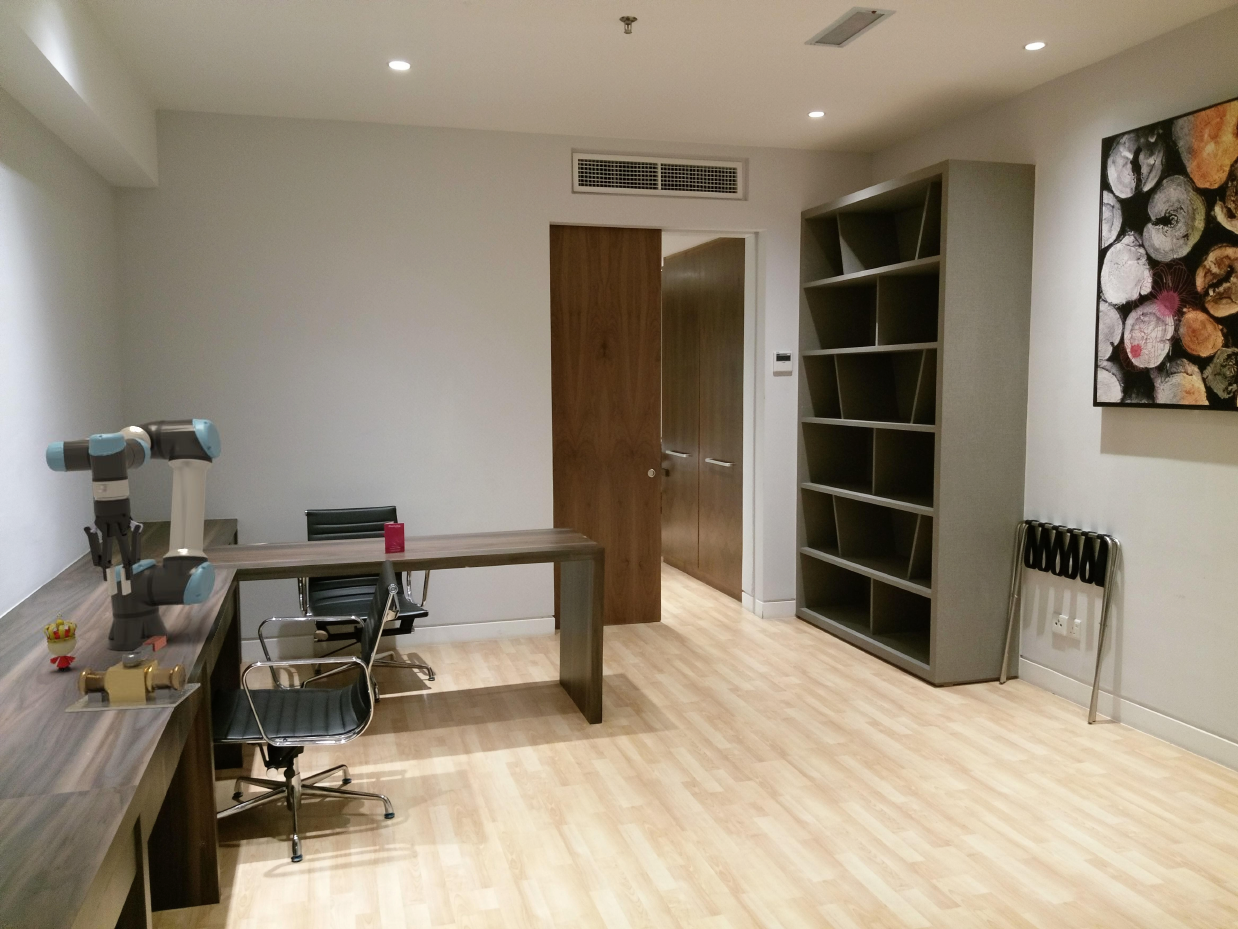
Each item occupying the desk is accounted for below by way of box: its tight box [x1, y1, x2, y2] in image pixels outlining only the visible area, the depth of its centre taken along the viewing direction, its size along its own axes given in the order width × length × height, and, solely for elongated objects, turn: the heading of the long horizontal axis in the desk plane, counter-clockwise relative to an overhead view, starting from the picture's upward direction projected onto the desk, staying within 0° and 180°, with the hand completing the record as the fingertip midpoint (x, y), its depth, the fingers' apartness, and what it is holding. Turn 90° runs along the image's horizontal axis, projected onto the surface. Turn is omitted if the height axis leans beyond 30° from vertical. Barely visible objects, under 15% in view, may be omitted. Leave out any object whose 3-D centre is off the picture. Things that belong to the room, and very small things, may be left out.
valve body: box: [64, 659, 201, 713], centre depth 205 cm, size 24×14×8 cm, turn 94°
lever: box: [121, 636, 167, 667], centre depth 210 cm, size 16×4×2 cm, turn 4°
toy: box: [43, 613, 78, 673], centre depth 226 cm, size 7×7×15 cm
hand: (119, 593), depth 213 cm, fingers open, 3 cm apart
